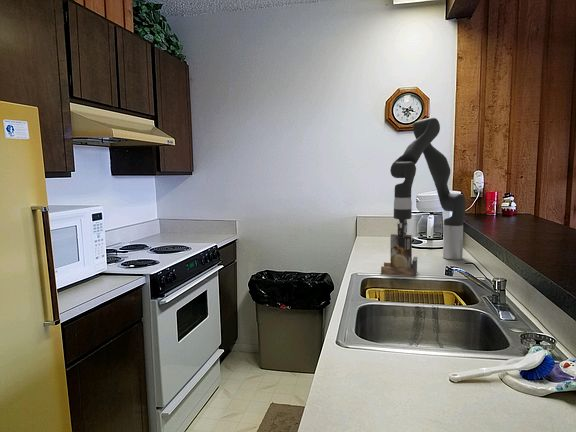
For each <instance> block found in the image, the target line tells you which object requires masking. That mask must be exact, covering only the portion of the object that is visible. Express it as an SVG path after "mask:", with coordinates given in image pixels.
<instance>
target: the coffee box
mask: <svg viewBox="0 0 576 432" xmlns="http://www.w3.org/2000/svg"><path fill="white" fill-rule="evenodd" d="M397 235H398V233H397V234H393V233H392V234H391V235H390V259H389V260H390V262H389V263H391V267H398V268H412V260H413V252H412V250H413V247H412V245H413V243H412V242H413V238H412V237H413V236H412V234H406V235H404V236H405V237H404V246H403V247H399V246H398V244H399V238H398V236H397Z"/></svg>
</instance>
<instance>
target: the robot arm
mask: <svg viewBox="0 0 576 432" xmlns="http://www.w3.org/2000/svg"><path fill="white" fill-rule="evenodd" d="M440 130H441V124H440V121H439V120H438V119H437V118H436V117H428V118H423V119H419V120H417V121H414V123H413V125H412V132H413V134H414V138H415V139H414V140H413V141H411V143H410V144H409V145H408V146H407V147H406V149H405V150H404V152H403V154H402V155H400V156H399V157H398V158H396V160H394V162H393V163H392V164H391V167H390V172H389V173H390V174H391V176H392V177H393V178H395V179H404V180H403V182H401V183H396V184H395V185H394V195H393V197H394V199H393V218H394V219H395V220H398V222H397V224H396V225H397V230H396V231H397V234H398V235H397V236H398V238H399V244H398V246H399V247H403V246H404V237H405V236H404V235H407V232H408V221H407V220H411V219H412V213H413V211H412V209H413V208H412V207H413V206H412V205H413V202H412V187H413V184H414V181H415V180H414V179H415V176H416V173H417V166H416V164H417V163H418V161H419V159H420V158H421V155H422V154H423V156H424V159H425V161H426V164H427V167H428V170H429V173H430V175H431V177H432V181H433V182H434V186H435V189H436V192H437V195H438V199H439V204H440V207H441V208H442V210H444V211H446V212H451V213H452V214H451V216H450V217H447V218H445V219H444V220H443V238H442V239H443V242H442V245H443V247H442V258H444V259H447V260H455V261H456V260H463V256H464V254H463V251H464V238H463V237H464V222H465V219H466V208H467V205H466V204H467V199H466V197H465V195H463V194H462V193H451V192H450V189H449V187H448V182H449V179H450V175H451V167H450V165H449V161H448V159H447V157H446V156H445V155H444V154H443V153H442V152H441V151H439V150H438V149H437V148H436V147H435V146H434V145H433V144H432V142H433V140H435V138H436V137H438V135H439V134H440Z"/></svg>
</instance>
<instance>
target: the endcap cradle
mask: <svg viewBox="0 0 576 432" xmlns="http://www.w3.org/2000/svg"><path fill="white" fill-rule="evenodd" d="M380 270H381V271H380V273H381V274H382V275H395V276H410V277H416V276H417V274H416V273H418V256H413V257H412V268H398V267H391V263H390V262H385V261H384V262H383V266H381V267H380Z"/></svg>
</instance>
